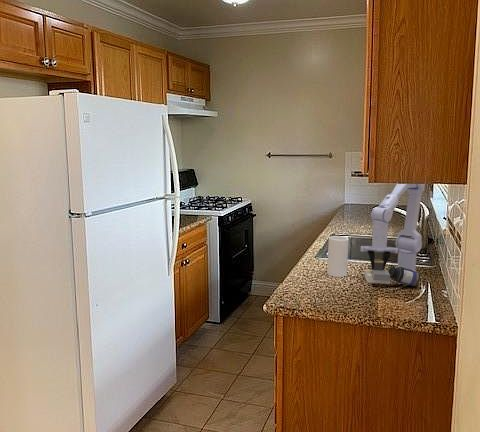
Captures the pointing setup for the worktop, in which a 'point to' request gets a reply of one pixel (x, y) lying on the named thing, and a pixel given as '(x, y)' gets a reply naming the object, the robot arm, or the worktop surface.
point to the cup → (337, 256)
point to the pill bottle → (404, 275)
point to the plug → (378, 264)
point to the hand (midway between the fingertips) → (377, 269)
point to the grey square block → (381, 275)
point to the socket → (370, 279)
